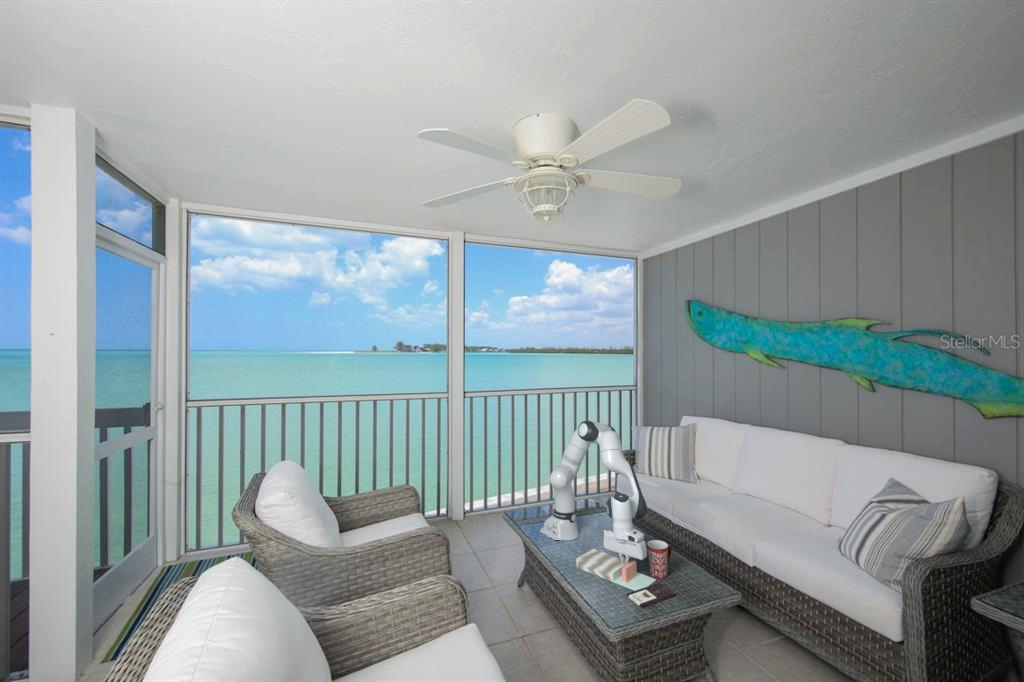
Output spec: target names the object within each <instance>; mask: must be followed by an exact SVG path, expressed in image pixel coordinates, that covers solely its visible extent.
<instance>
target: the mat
mask: <svg viewBox="0 0 1024 682" xmlns="http://www.w3.org/2000/svg"><path fill="white" fill-rule="evenodd" d="M656 581H657V579H655V577H654V578H653V577H650V576H648V575H646V574H643V573H640V572H638V571H637V576H635V577H634V578H633V579H631V580H630V581H628V582H627V583H625V582H622V576H620V577H619V578H618V579H616V580H615V581H610V582H612V583H615V584H617V585H619V586H621V587H624V588H626V589H630V590H632V591H636V590H639V589H642V588H645V587H648V586H651V585H653V584H654V583H655V582H656Z"/></svg>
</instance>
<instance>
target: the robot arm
mask: <svg viewBox="0 0 1024 682" xmlns="http://www.w3.org/2000/svg"><path fill="white" fill-rule="evenodd" d="M591 444H598V445H599V453H600V461H601V463H602V465H603V466H604V468H606V469H607V470H608V471H611V472H612V473H615V474H616V473H617V474H619V475H621V476H623V477H625V478H626V480H627V482H628V484H629V487H630V491H631V496H629V495H627V494H625V493H615V494H614V495H612V496H610V497H609V498H608V499H607V500H606V502H605V503H606V515H607V516H608V517H609V518H610V519H612V520H613V521H612V528H608V527H606V528H604V529H603V548H604V549H605V550H608V551H610V552H615V553H617V554H618V556H619V558H621V560H622V564H626V565H628V564H629V562H630V559H631V558H634V559H637V560H640V561H643V560H644V559H646V558H647V556H648V549H647V543H646V541H645V540H644V539H645V534H644V533H642V532H641V531H639V530H638V529H636V528H635V527H634V524H633V519H635V520H636V519H637V520H642V519H643V518H645V517H646V516H647V514H648V504H647V502H646V500H645V498H644V495H643V492H642V490H641V486H640V483H639V481H638V477H637V474H636V472H635V469H634V467H633V464H632V462H630V461H628V460H627V459H626V457H625V455H624V451H623V445H622V442H621V439H620V436H619V433H617V432H616V429H615V428H614V427H613V426H611V425H609V424H605V423H602V422H599V421H598V422H595V421H591V420H583V421H582V422H580V423H579V425H578V426H577V428H576V429H575V430H574V432H573V433H572V435H571V436H570V439H569V441H568V442H567V444H566V447H565V449H564V451H563V455H562V458H561V461H560V462H559V464H558V465H557V466H556V467H555V468H554V469H553V470H552V471H551V473H550V476H549V482H550V484H551V486H552V489H553V494H554V508H553V509H551V511H550V512H551V513H552V515H551V516H549V517H548V518H547V519H545V521H544V524H543V526H542V527H541V528H540V529H539V533H540V532H541V533H540V534H542V533H543V534H542V535H544V534H545V535H544V536H546V535H547V536H546V537H548V538H549V537H550V538H549V539H551V538H552V539H551V540H553V539H554V541H555V540H560V541H573V540H576V539H578V538H579V537H580V533H579V530H578V525H577V509H576V495H575V493H574V490H573V485H572V484H573V483H572V482H573V481H574V480H575V479H576V477H577V475H578V472H579V470H580V468H581V465H582V464H583V460H584V459H585V456H586V454H587V452H588V450H589V448H590V446H591Z"/></svg>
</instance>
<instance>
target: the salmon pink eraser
mask: <svg viewBox="0 0 1024 682" xmlns="http://www.w3.org/2000/svg"><path fill="white" fill-rule="evenodd" d="M637 567H638V566H637V561H636V560H630V561H629V564H628V565H625V566H624V567H622V582H625V583H627V582H628V581H630V580H631V579H633V578H634V577H635V576H637V572H638V571H637V570H638V569H637Z"/></svg>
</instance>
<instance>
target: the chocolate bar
mask: <svg viewBox="0 0 1024 682" xmlns="http://www.w3.org/2000/svg"><path fill="white" fill-rule="evenodd" d="M676 596H677V593H675V592H674V591H673V590H671V589H670V588H668V587H667V586H666V585H664V584H663V583H662V582H657V583H653V584H651V585H650V586H648V587H645V588H642V589H639V590H636V591H634V590H632V591H630V592H626V597H628V599H630V600H631V601H632V602H634V603H635V604H636V605H637V606H639V608H641V609H643V608H646V607H647V608H648V607H650V606H652V605H655V604H658V603H660V602H663V601H665V600H668V599H672V598H674V597H676Z"/></svg>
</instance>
